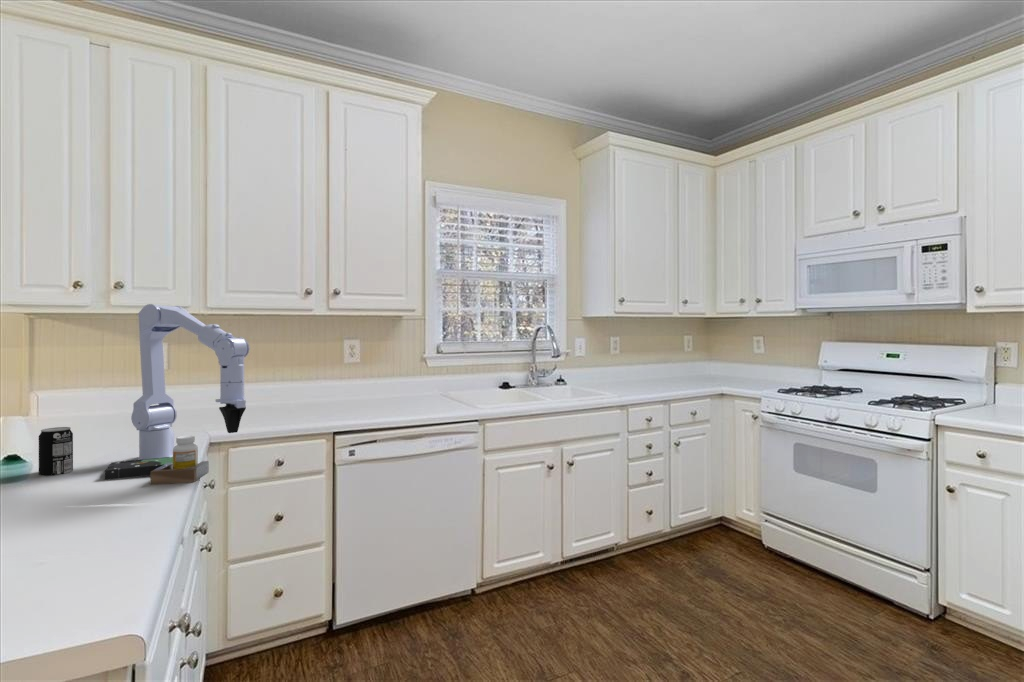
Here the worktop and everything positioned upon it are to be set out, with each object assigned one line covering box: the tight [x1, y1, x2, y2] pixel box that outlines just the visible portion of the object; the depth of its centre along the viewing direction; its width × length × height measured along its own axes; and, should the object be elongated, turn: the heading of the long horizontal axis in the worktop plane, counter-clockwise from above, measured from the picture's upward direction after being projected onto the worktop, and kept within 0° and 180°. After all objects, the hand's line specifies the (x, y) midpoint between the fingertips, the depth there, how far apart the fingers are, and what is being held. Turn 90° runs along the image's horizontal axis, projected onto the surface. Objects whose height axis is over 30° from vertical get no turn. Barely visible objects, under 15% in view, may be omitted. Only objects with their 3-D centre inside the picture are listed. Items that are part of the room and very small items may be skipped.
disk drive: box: [104, 457, 173, 481], centre depth 137 cm, size 10×3×15 cm
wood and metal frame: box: [149, 460, 210, 485], centre depth 132 cm, size 10×10×3 cm
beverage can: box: [38, 426, 74, 477], centre depth 134 cm, size 7×7×12 cm
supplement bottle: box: [173, 435, 199, 469], centre depth 135 cm, size 5×5×10 cm
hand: (232, 432), depth 143 cm, fingers closed
